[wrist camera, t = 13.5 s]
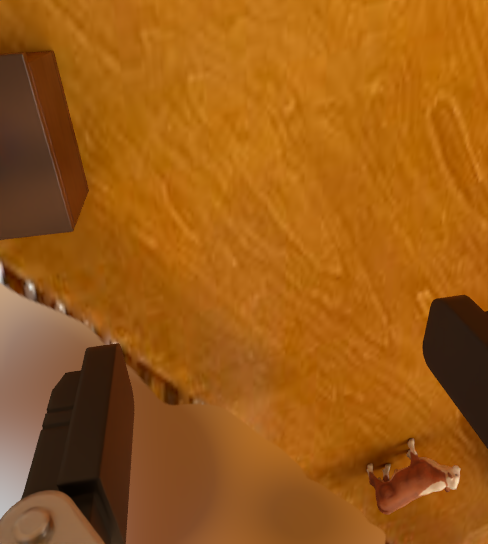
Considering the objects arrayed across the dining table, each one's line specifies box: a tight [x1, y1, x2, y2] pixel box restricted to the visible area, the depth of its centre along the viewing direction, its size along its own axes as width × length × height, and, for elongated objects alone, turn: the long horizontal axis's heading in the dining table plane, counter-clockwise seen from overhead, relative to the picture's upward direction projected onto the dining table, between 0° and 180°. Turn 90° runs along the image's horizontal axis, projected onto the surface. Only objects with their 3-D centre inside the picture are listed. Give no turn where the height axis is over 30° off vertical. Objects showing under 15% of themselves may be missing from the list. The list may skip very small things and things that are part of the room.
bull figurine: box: [367, 439, 460, 514], centre depth 67 cm, size 4×13×8 cm, turn 124°
